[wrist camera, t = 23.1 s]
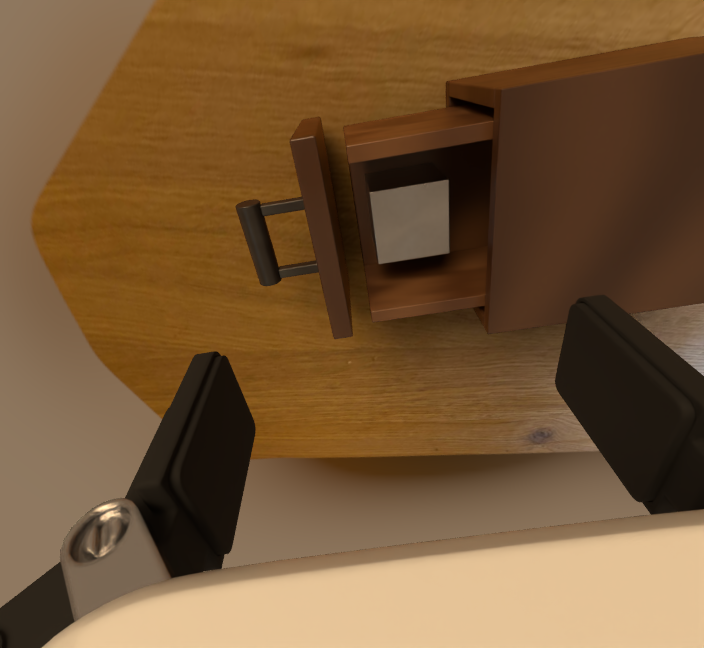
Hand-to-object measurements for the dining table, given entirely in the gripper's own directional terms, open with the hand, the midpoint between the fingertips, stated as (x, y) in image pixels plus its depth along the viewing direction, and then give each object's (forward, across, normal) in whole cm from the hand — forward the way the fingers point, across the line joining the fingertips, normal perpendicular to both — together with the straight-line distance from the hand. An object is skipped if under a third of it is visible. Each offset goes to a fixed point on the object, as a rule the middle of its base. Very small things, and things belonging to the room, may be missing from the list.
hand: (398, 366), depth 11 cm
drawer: (+19, -2, +1) cm, 19 cm away
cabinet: (+20, -14, +1) cm, 24 cm away
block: (+18, -3, +1) cm, 18 cm away
